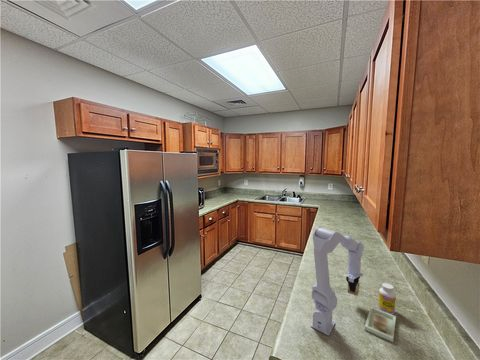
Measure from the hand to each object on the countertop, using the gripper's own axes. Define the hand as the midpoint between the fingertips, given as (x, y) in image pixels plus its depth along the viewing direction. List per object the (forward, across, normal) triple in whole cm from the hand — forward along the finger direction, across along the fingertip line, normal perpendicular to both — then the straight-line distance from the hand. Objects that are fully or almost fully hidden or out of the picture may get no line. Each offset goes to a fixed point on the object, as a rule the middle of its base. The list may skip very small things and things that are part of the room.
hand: (353, 289), depth 105 cm
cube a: (+8, -11, -12) cm, 18 cm away
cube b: (+2, 0, 0) cm, 2 cm away
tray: (+8, -7, -12) cm, 17 cm away
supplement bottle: (+9, +6, -14) cm, 17 cm away
